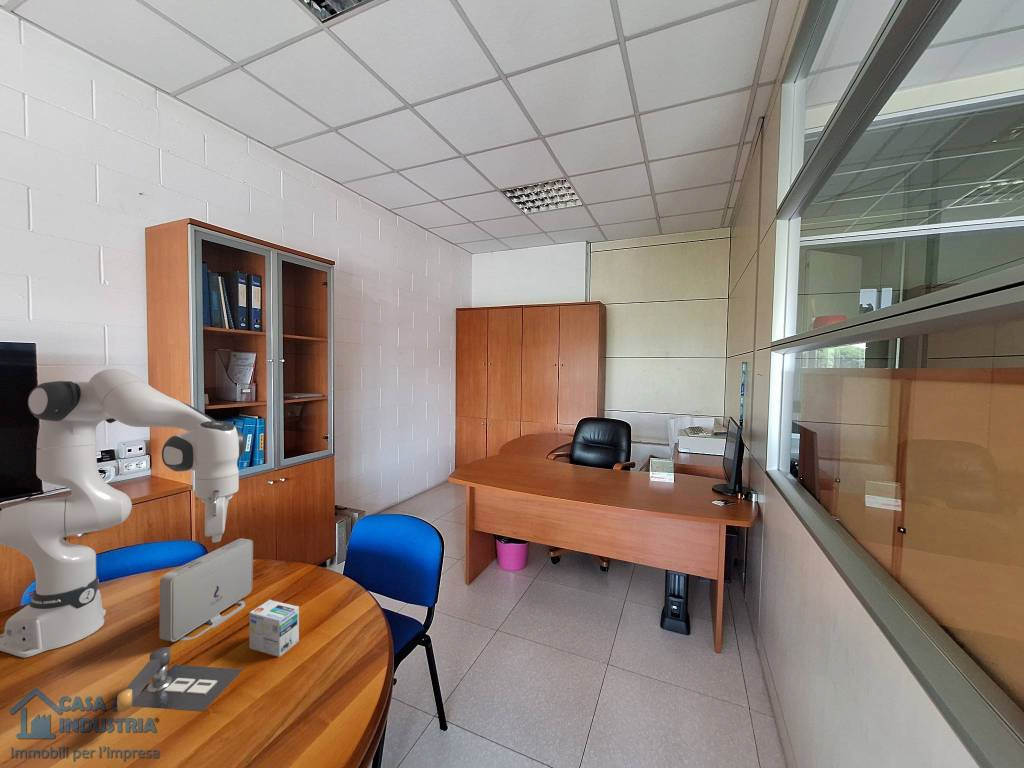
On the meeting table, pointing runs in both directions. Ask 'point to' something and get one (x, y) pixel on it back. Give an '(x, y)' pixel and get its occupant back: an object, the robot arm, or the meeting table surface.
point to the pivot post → (159, 680)
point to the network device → (205, 590)
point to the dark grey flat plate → (188, 699)
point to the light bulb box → (274, 627)
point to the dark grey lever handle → (143, 678)
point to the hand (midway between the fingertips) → (216, 540)
